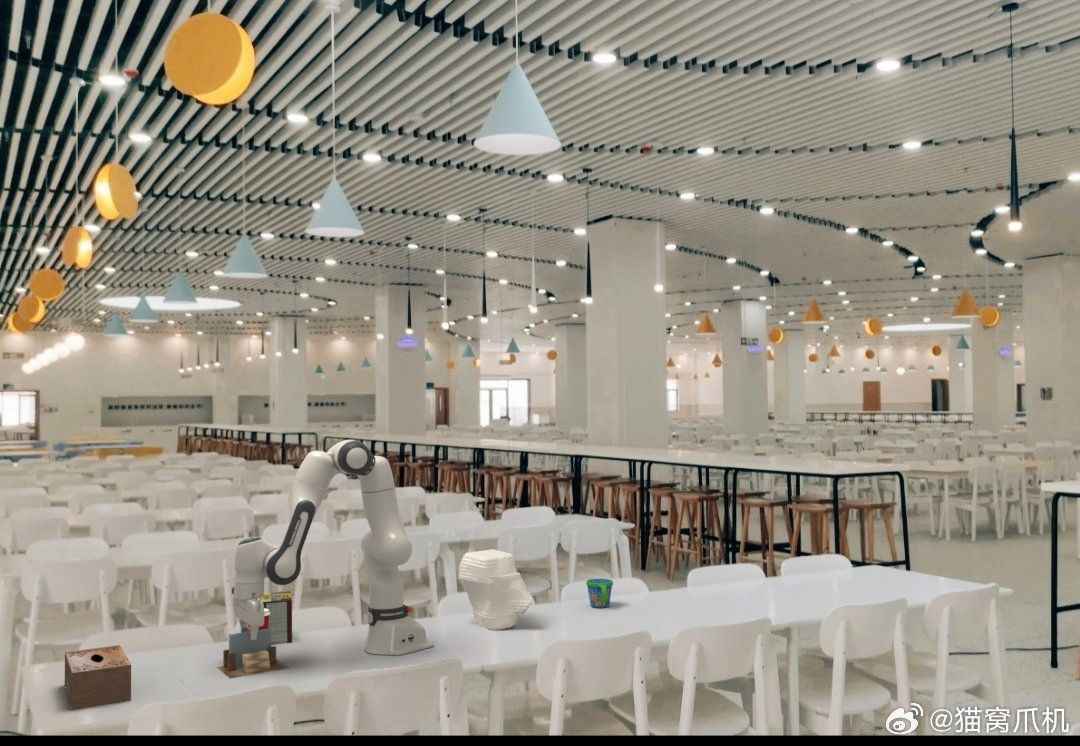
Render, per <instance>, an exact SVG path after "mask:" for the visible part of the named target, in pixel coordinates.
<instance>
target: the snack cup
mask: <svg viewBox="0 0 1080 746" xmlns="http://www.w3.org/2000/svg"><path fill="white" fill-rule="evenodd" d="M613 581H614V580H612V579H608V578H589V579H587V580H586V581H585V582H586V583H585V584H586V586H587V592H588V598H589V604H590V606H591V607H592V608H594V609H595V608H597V609H605V608H608V607H610V604H611V603H610V602H611V594H612V589H613V585H614V582H613Z"/></svg>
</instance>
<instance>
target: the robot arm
mask: <svg viewBox="0 0 1080 746" xmlns="http://www.w3.org/2000/svg"><path fill="white" fill-rule="evenodd" d="M338 473H341V474H343V475H344V474H346V475H356V476H357V478H358V479H359V482H360V491H361V493H360V494H361V499H362V507H363V513H364V516H365V519H366V521H367V523H368V525H369V528H370V530H369V531H367V532H365V534H364V535H363V536H362V538H361V541H360V547H361V551H362V554H363V557H364V561H365V566H366V572H367V579H368V587H369V588H368V589H369V591H368V592H369V596H368V598H369V605H368V607H367V608H368V609H367V621H368V622H367V623H368V633H367V640H366V644H365V648H364V651H365V652H366V653H368V654H372V655H389V656H390V655H392V656H402V655H404V654H409V653H412V652H417V651H420V650H421V651H422V650H425V649H428V648H433V647H434V642H433V641H432V640H430V639H429V638H428V637H427V633H426V629H425V627H424V626H423V625H422V624H421V623H420V622H418V621H417V620H416V619H414V618H413V617H411V616H410V615H409V614H412V613H414V611H415V608H414V607H413V606H411V605H406V604H404V580H403V578H402V576H401V573H400V569H399V566H401V565H404V564H406V563H407V562H408V561H409V560H410V559H411V556H412V554H413V545H412V542H411V540H410V539H409V537H408V536H407V533H406V530H405V527H404V524H403V521H402V518H401V515H400V512H399V507H398V499H397V493H396V486H395V480H394V476H393V471H392V468H391V464H390V463H389V460H388V459H387V458H385V457H384V456H382V455H381V456H380V455H374V454H373V452H371V450H370V449H369V447H368V446H367V445H366V444H364V443H363V442H361V441H359V440H358V441H357V440H355V439H344V440H343V439H342V440H338V441H336V442H334V443H333V444H332V445H330V446H329V447H328V448H327V449H326V450H312V451H310V452H308V453H307V455H306V456H305V457H304V458H303V460H302V462H301V463H300V466H299V468H298V470H297V471H296V474H295V476H294V478H293V481H292V483H291V486H290V489H289V490H290V491H289V492H288V493H289V494H288V504H289V508H290V519H289V523H288V527H287V529H286V531H285V534H284V537H283V540H282V543H281V544H280V546H279V545H275V544H273V543H271V542H268V541H266V540H264V539H263V538H262V537H250V538H247V539H244V540H241V541H240V542H238V543H237V546H236V549H235V558H234V571H235V578H234V583H233V584H234V585H233V586H232V587H231V594H232V595H233V597H232V603H233V605H232V606H233V608H232V609H233V614H234V617H236V618H237V619H238V622H239V627H240V633H241V632H248V628H247V624H248V625H250V629H251V632H250V639H251V640H256V639H257V632H258V629H259V627H260V626H263V625H264V604H263V601H262V600H260V598H261V597H263V596H264V593H265V578H268V579H269V580H270V582H271V583H273V584H275V585H278V586H286V585H289V584H291V583H294V582H295V581H296V580H297V579H298V577H299V576H300V573H301V569H302V563H301V560H302V558H301V557H302V556H301V555H302V551H303V548H304V545H305V542H306V539H307V536H308V534H309V532H310V528H311V526H312V525H311V524H312V522H313V521H314V519H315V516H316V514H317V513H318V510H319V509H320V507H321V505H322V503H323V501H324V499H325V497H326V494H327V491H328V489H329V486H330V484H331V481H332V480H333V478H334V477H335V476H336V475H337V474H338Z"/></svg>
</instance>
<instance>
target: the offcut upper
mask: <svg viewBox="0 0 1080 746" xmlns="http://www.w3.org/2000/svg"><path fill="white" fill-rule="evenodd" d="M265 661H269V652H267V651H259V652H254V653H248V654H243V655H242V663H243V664H245V665H249V664H254V663H259V662H265Z"/></svg>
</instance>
